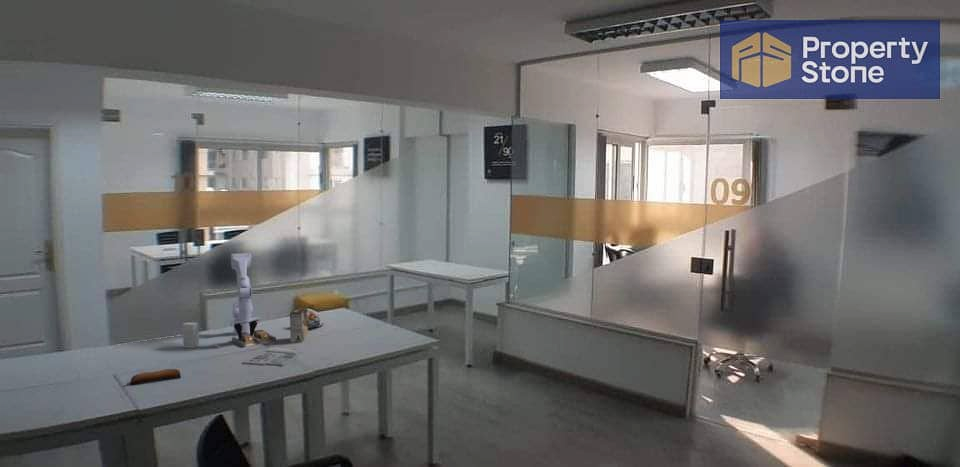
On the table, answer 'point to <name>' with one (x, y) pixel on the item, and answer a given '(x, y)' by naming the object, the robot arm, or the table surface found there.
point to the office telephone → (273, 357)
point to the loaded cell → (261, 335)
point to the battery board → (256, 341)
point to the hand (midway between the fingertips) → (245, 337)
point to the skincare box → (190, 335)
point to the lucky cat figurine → (313, 319)
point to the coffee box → (299, 325)
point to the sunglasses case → (155, 376)
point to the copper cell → (247, 338)
